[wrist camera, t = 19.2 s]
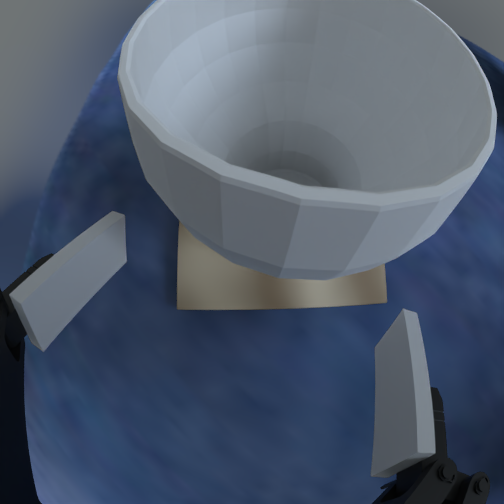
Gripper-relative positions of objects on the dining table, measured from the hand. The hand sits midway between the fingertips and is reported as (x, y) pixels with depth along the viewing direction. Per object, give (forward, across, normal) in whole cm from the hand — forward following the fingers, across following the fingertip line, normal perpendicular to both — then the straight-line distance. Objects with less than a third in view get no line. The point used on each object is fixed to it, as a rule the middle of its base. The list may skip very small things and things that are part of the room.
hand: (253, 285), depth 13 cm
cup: (+8, 0, -1) cm, 8 cm away
